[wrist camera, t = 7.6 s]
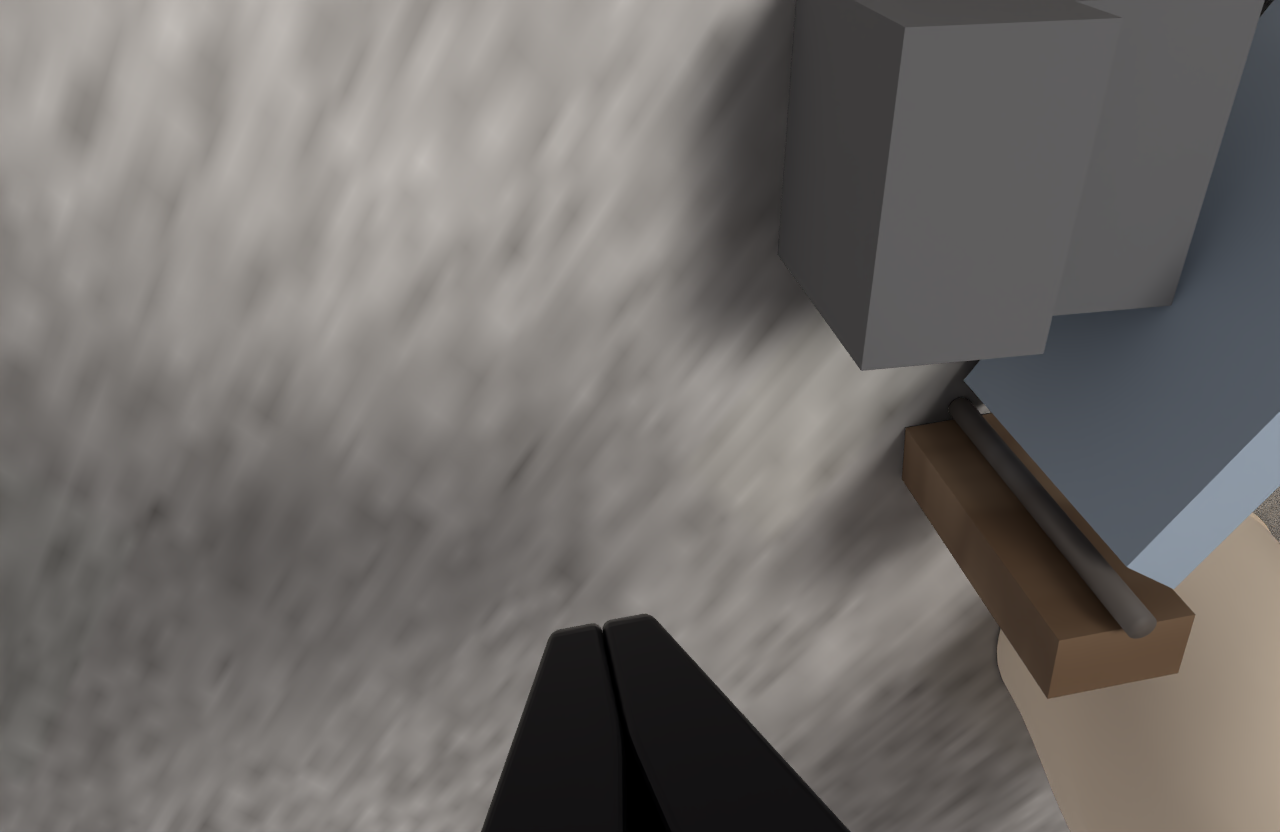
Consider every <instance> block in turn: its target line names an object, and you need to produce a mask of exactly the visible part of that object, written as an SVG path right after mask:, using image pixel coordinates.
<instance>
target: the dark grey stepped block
mask: <svg viewBox="0 0 1280 832" xmlns="http://www.w3.org/2000/svg"><path fill="white" fill-rule="evenodd" d="M1264 1H1265V0H796V7H795V21H794V34H793V48H792V62H791V76H790V90H789V104H788V118H787V132H786V146H785V160H784V173H783V187H782V201H781V215H780V229H779V243H778V255H779V257H780V258H781V259H782V261H783V262H784V264H785V265H786V266H787V268H788V269H789V271H790V272H791V273H792V275H793V276H794V278H795V279H796V280H797V282H798V283H799V285H800V286H801V287H802V289H803V290H804V292H805V293H806V294H807V296H808V297H809V299H810V300H811V301H812V303H813V304H814V306H815V307H816V308H817V310H818V311H819V312H820V314H821V315H822V317H823V318H824V319H825V321H826V322H827V324H828V325H829V326H830V328H831V329H832V331H833V332H834V333H835V335H836V336H837V338H838V339H839V340H840V342H841V343H842V345H843V346H844V347H845V349H846V350H847V352H848V353H849V354H850V356H851V357H852V359H853V360H854V361H855V363H856V364H857V366H858V367H859V368H860V370H861V371H863V370H874V369H885V368H896V367H907V366H917V365H928V364H939V363H950V362H961V361H971V360H982V359H993V358H1004V357H1015V356H1026V355H1036V354H1044V350H1045V346H1046V341H1047V337H1048V333H1049V329H1050V324H1051V320H1052V316H1056V315H1068V314H1079V313H1091V312H1102V311H1114V310H1125V309H1137V308H1148V307H1160V306H1171V305H1172V302H1173V299H1174V295H1175V292H1176V289H1177V286H1178V282H1179V279H1180V276H1181V272H1182V269H1183V266H1184V263H1185V259H1186V256H1187V253H1188V249H1189V246H1190V243H1191V240H1192V236H1193V233H1194V230H1195V227H1196V223H1197V220H1198V217H1199V213H1200V210H1201V207H1202V204H1203V200H1204V197H1205V194H1206V191H1207V187H1208V184H1209V181H1210V177H1211V174H1212V171H1213V168H1214V164H1215V161H1216V158H1217V155H1218V151H1219V148H1220V145H1221V141H1222V138H1223V135H1224V132H1225V128H1226V125H1227V122H1228V119H1229V115H1230V112H1231V109H1232V105H1233V102H1234V99H1235V96H1236V92H1237V89H1238V86H1239V83H1240V79H1241V76H1242V73H1243V69H1244V66H1245V63H1246V60H1247V56H1248V53H1249V50H1250V47H1251V43H1252V40H1253V37H1254V33H1255V30H1256V27H1257V24H1258V20H1259V17H1260V14H1261V11H1262V7H1263V4H1264Z"/></svg>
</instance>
